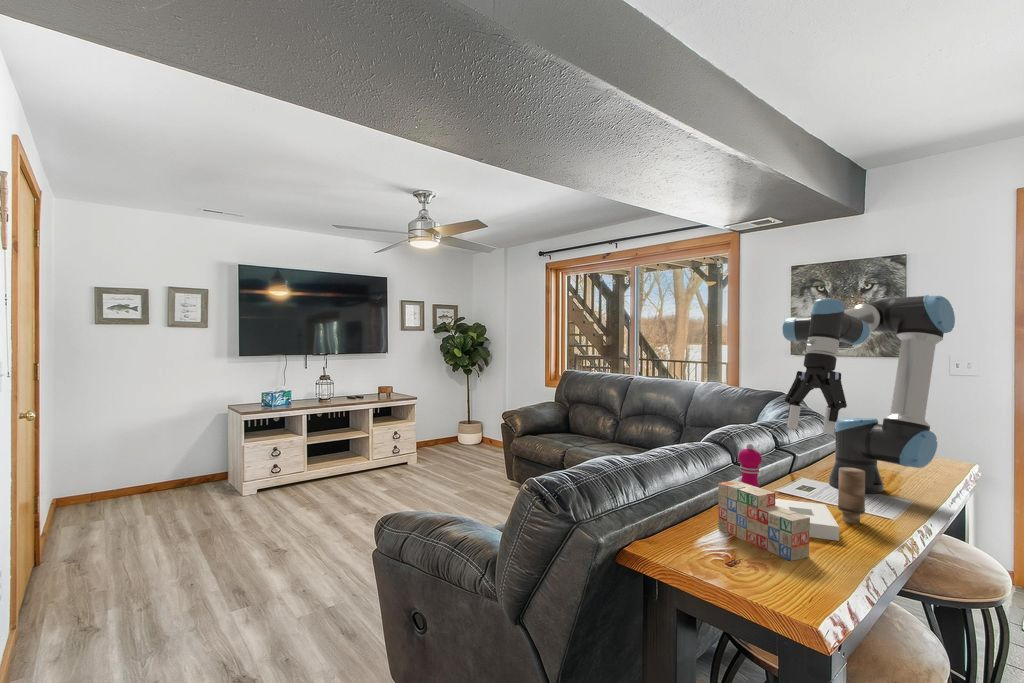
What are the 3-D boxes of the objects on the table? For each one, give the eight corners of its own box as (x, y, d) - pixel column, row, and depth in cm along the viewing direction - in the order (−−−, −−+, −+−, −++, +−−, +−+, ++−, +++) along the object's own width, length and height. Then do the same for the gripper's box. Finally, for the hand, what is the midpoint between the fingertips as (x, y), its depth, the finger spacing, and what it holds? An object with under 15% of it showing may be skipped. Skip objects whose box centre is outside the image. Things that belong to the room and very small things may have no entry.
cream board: (824, 516, 141) (825, 504, 141) (839, 540, 125) (839, 526, 125) (768, 510, 147) (769, 498, 147) (775, 532, 130) (775, 518, 130)
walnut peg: (861, 519, 140) (862, 468, 140) (867, 526, 134) (868, 474, 134) (835, 516, 142) (836, 466, 142) (840, 523, 137) (841, 471, 136)
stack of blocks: (810, 557, 116) (810, 503, 115) (791, 562, 113) (791, 507, 113) (735, 525, 135) (735, 479, 135) (717, 528, 133) (717, 481, 133)
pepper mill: (766, 519, 139) (767, 447, 139) (738, 517, 140) (739, 445, 140) (759, 510, 146) (760, 441, 146) (732, 508, 148) (733, 440, 147)
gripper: (778, 353, 151) (767, 423, 150) (844, 349, 127) (831, 433, 125) (801, 358, 152) (790, 428, 151) (870, 356, 128) (858, 439, 126)
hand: (809, 431), depth 138 cm, fingers open, 13 cm apart
